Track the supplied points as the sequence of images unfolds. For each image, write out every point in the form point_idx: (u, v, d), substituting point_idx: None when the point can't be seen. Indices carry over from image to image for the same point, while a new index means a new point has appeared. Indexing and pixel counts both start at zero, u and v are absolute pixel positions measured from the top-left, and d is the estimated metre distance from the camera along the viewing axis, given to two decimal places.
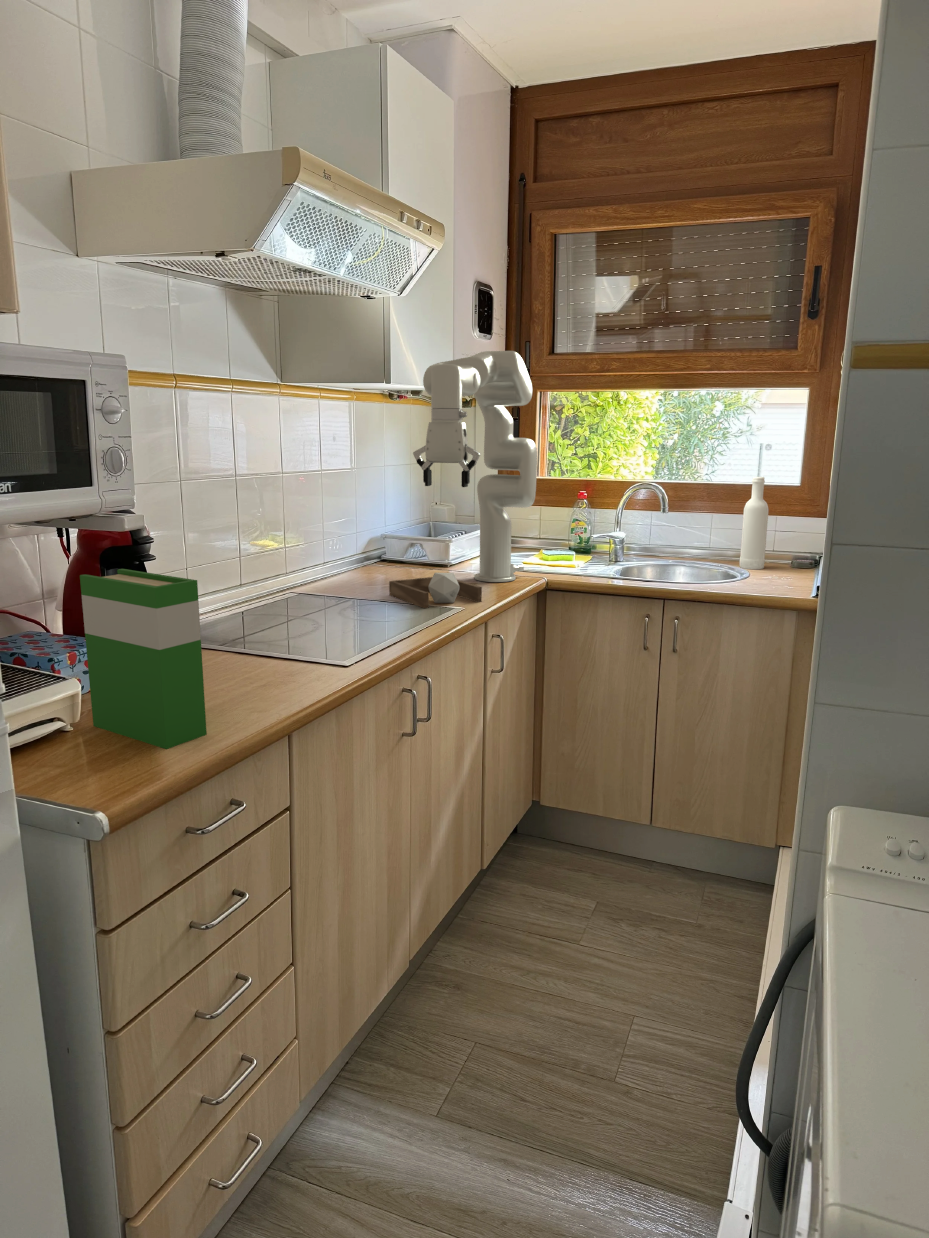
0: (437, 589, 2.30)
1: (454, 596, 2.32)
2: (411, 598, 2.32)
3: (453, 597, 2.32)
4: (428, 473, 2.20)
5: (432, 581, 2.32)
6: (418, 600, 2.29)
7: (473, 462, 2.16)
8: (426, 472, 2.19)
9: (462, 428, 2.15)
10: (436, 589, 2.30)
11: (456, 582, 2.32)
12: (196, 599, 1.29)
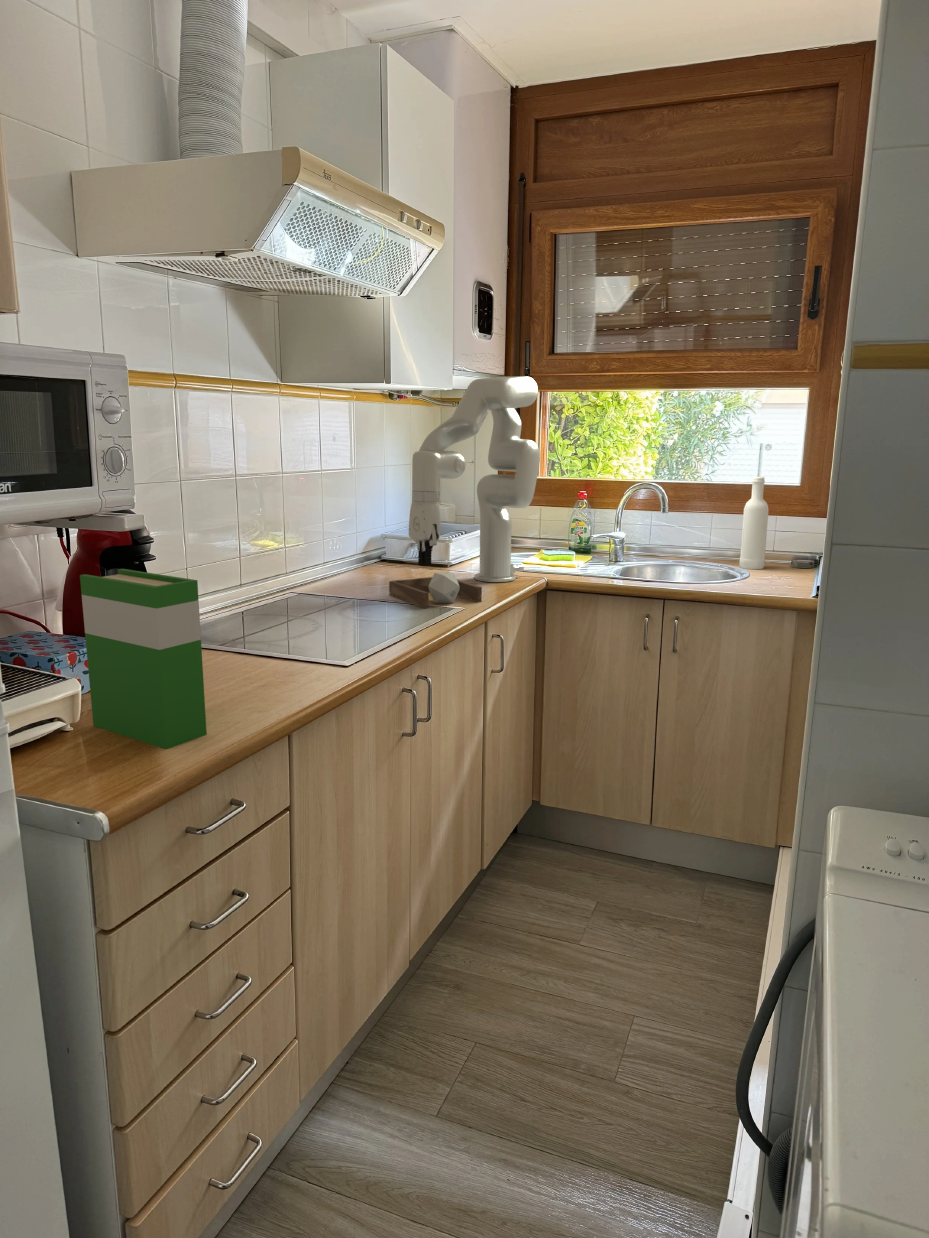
0: (436, 589, 2.30)
1: (454, 596, 2.32)
2: (411, 598, 2.32)
3: (453, 597, 2.32)
4: None
5: (432, 581, 2.32)
6: (418, 600, 2.29)
7: None
8: None
9: None
10: (436, 589, 2.30)
11: (456, 582, 2.32)
12: (196, 599, 1.29)
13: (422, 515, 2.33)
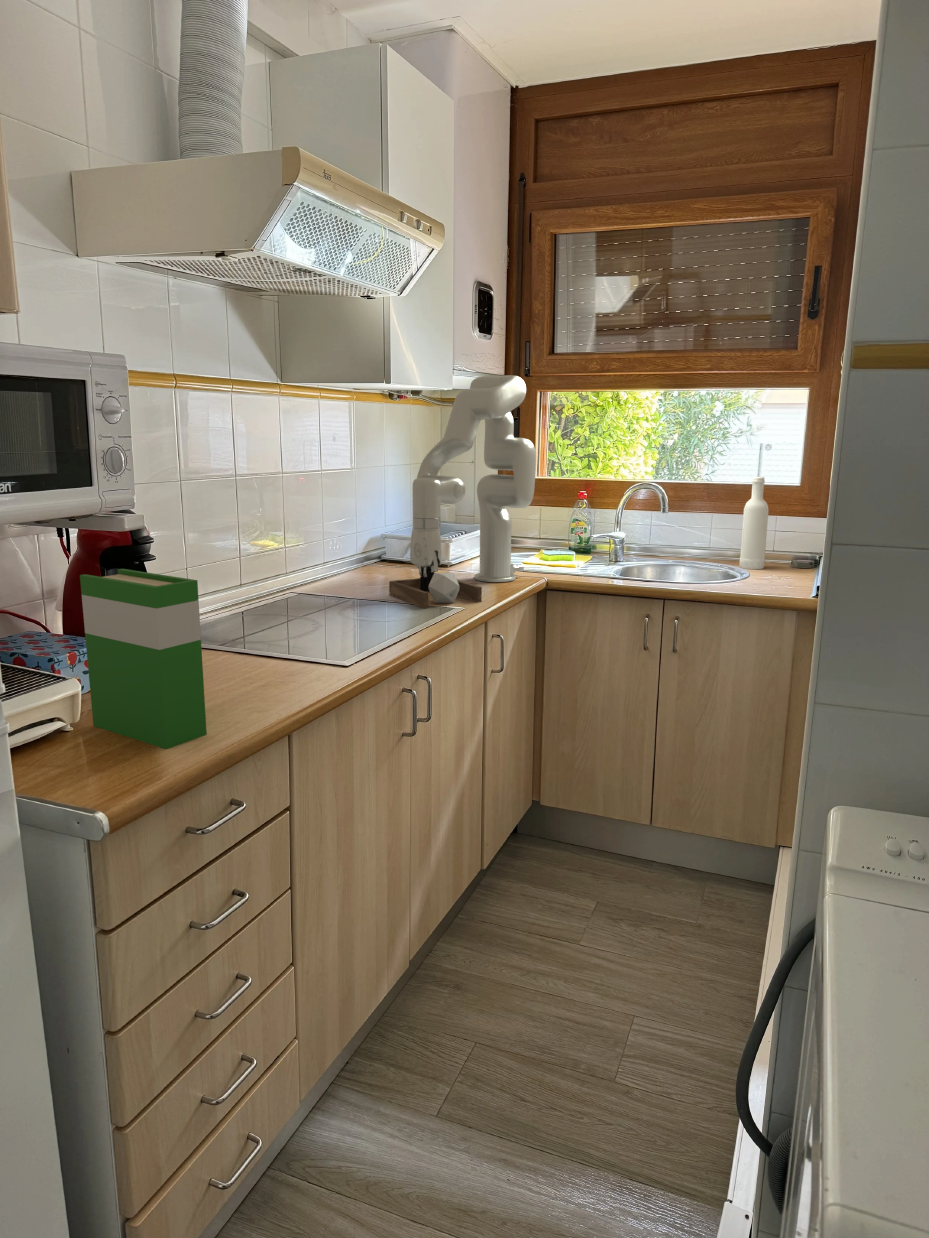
0: (436, 589, 2.30)
1: (454, 596, 2.32)
2: (411, 598, 2.32)
3: (453, 597, 2.32)
4: None
5: (432, 581, 2.32)
6: (418, 600, 2.29)
7: None
8: None
9: None
10: (436, 589, 2.30)
11: (456, 582, 2.32)
12: (196, 599, 1.29)
13: (423, 542, 2.35)
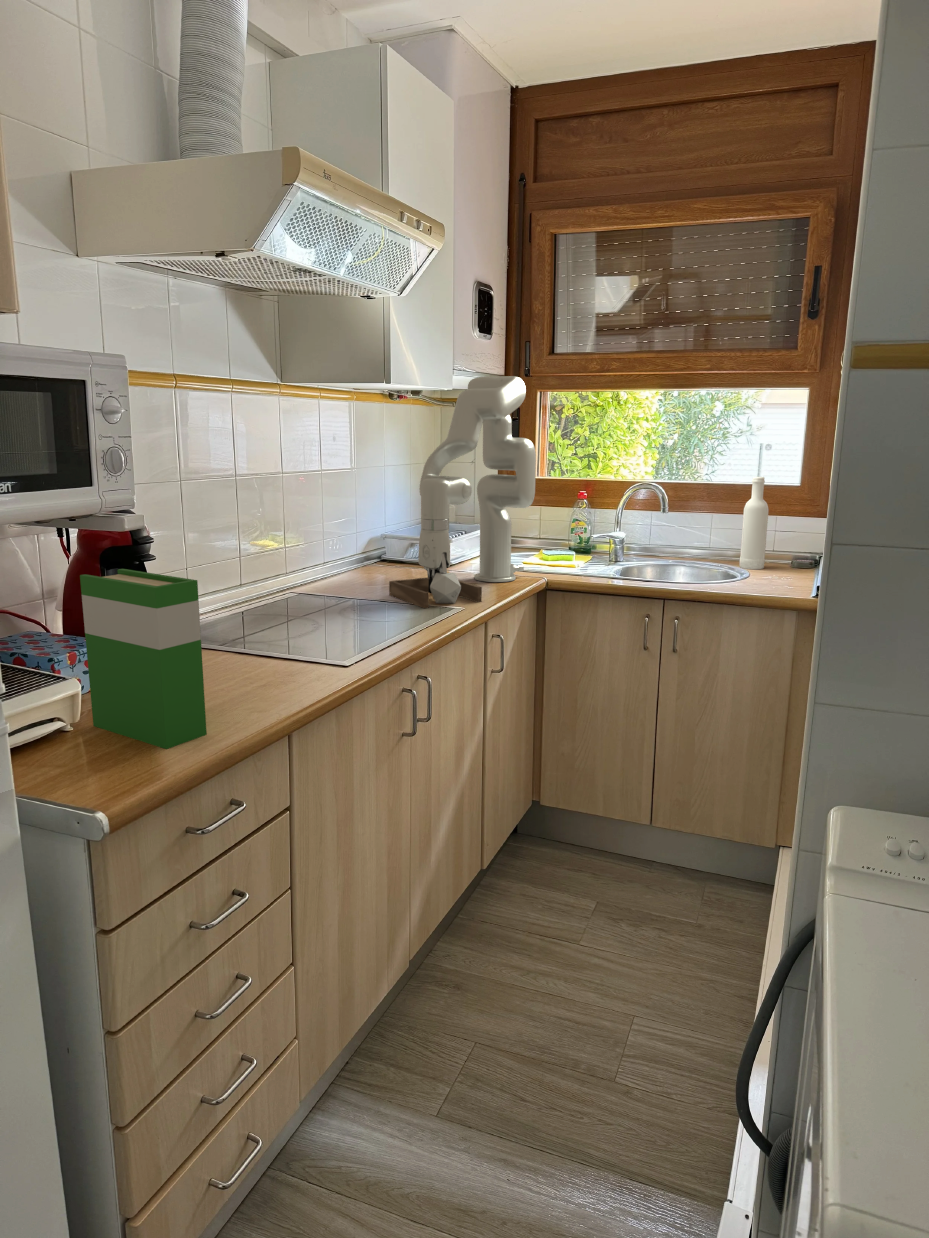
0: (438, 590, 2.29)
1: (455, 596, 2.31)
2: (411, 598, 2.32)
3: (454, 597, 2.31)
4: None
5: (433, 581, 2.31)
6: (418, 600, 2.29)
7: None
8: None
9: None
10: (437, 590, 2.29)
11: (457, 582, 2.31)
12: (196, 599, 1.29)
13: (431, 543, 2.31)
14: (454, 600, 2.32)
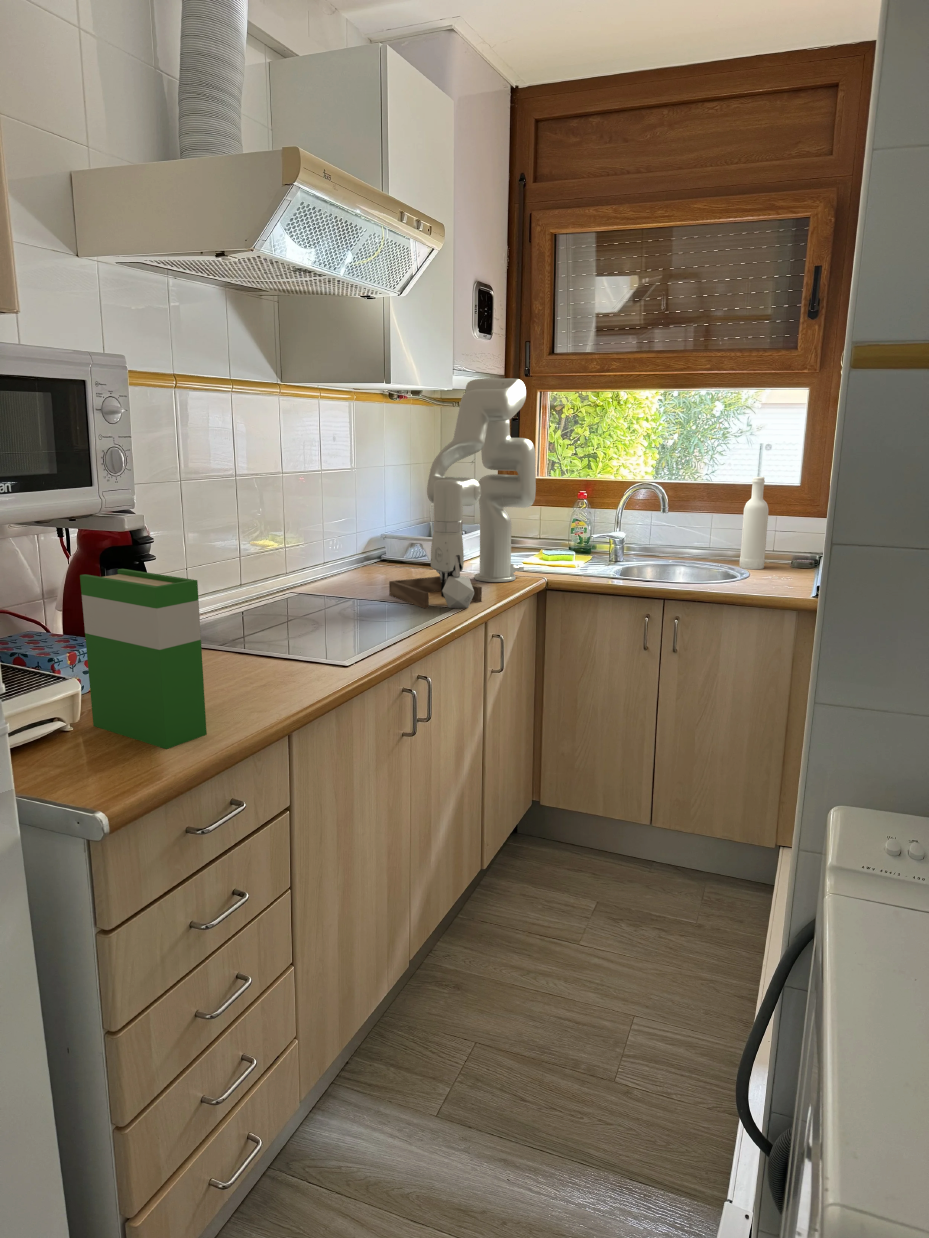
0: (450, 595, 2.24)
1: (468, 601, 2.26)
2: (411, 598, 2.32)
3: (467, 602, 2.26)
4: None
5: (446, 586, 2.25)
6: (418, 600, 2.29)
7: None
8: None
9: None
10: (449, 594, 2.24)
11: (471, 587, 2.25)
12: (196, 599, 1.29)
13: (445, 546, 2.25)
14: (467, 605, 2.26)
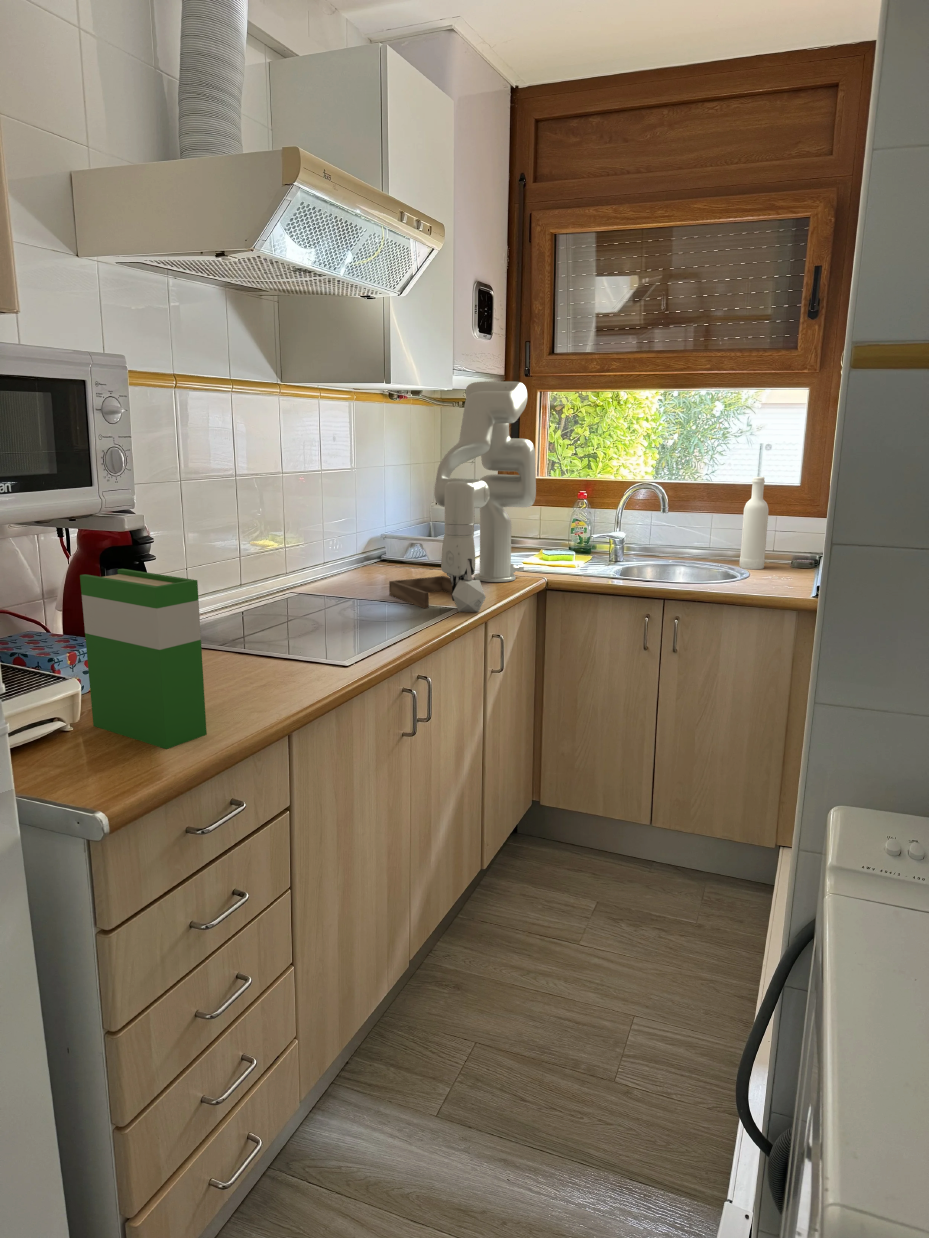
0: (460, 598, 2.19)
1: (479, 605, 2.21)
2: (411, 598, 2.32)
3: (478, 606, 2.21)
4: None
5: (456, 589, 2.21)
6: (418, 600, 2.29)
7: None
8: None
9: None
10: (459, 598, 2.19)
11: (481, 591, 2.20)
12: (196, 599, 1.29)
13: (456, 549, 2.21)
14: (477, 609, 2.21)
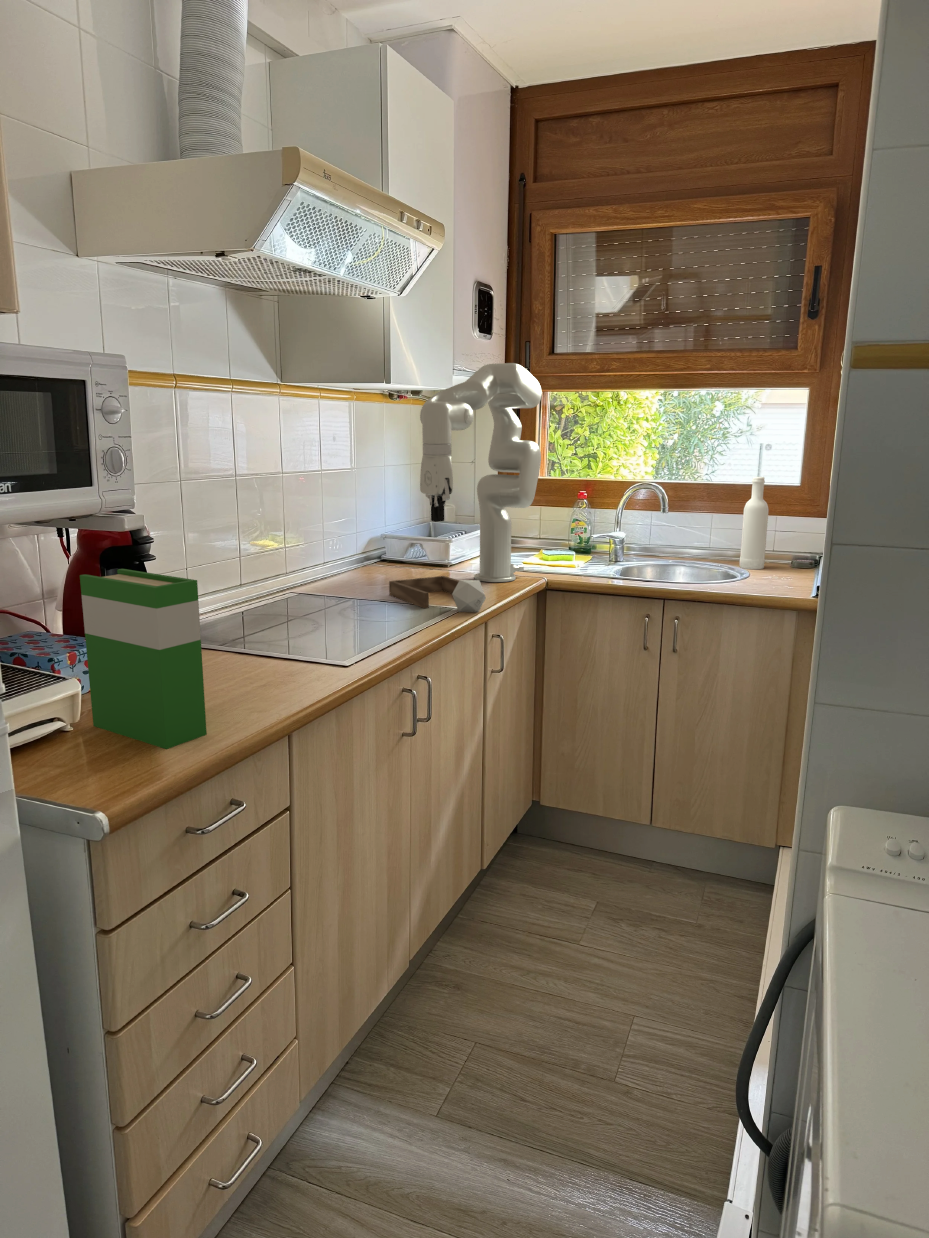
0: (460, 598, 2.19)
1: (479, 605, 2.21)
2: (411, 598, 2.32)
3: (478, 606, 2.21)
4: None
5: (456, 589, 2.21)
6: (418, 600, 2.29)
7: None
8: None
9: None
10: (459, 598, 2.20)
11: (481, 590, 2.20)
12: (196, 599, 1.29)
13: (434, 469, 2.26)
14: (477, 609, 2.21)
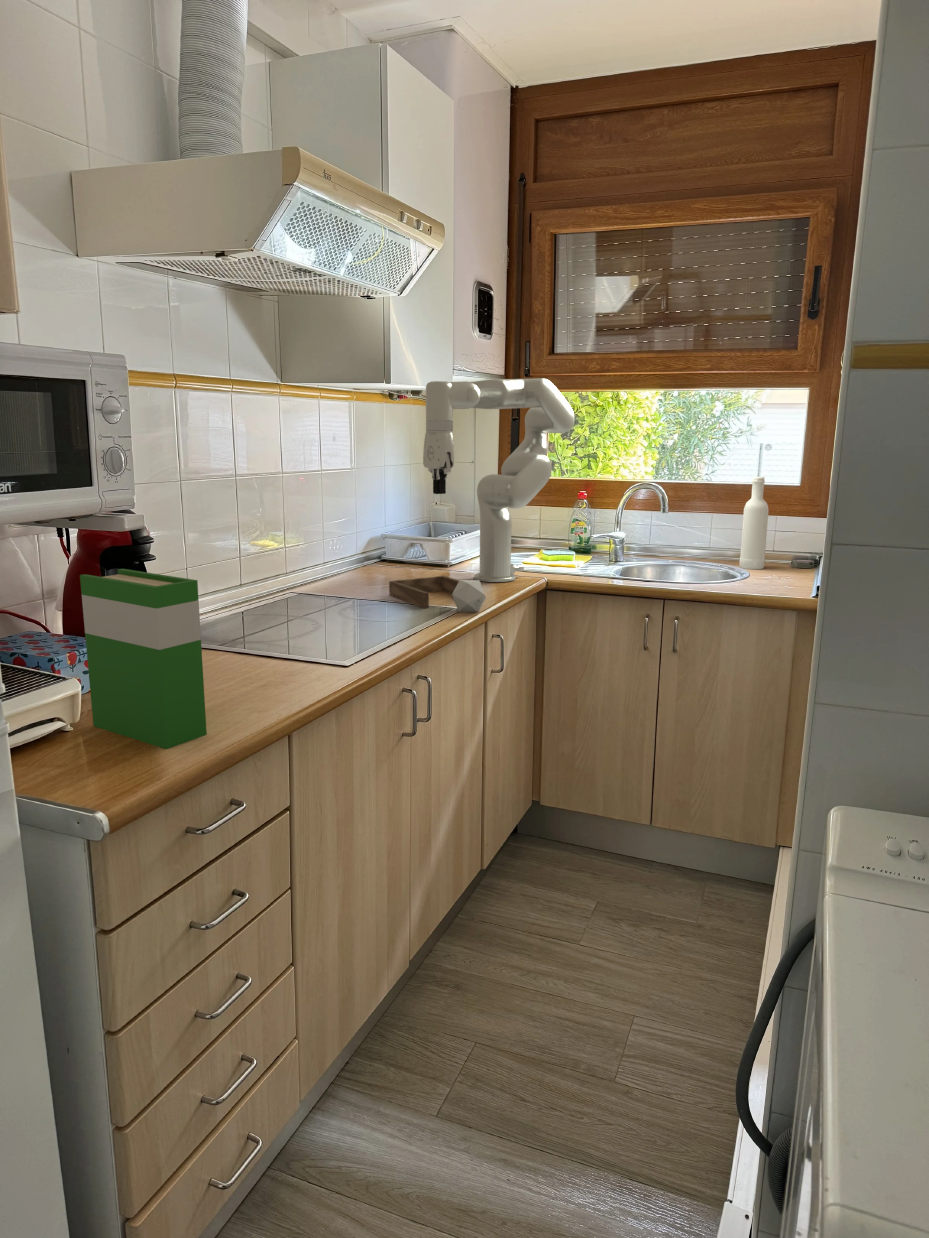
0: (460, 598, 2.19)
1: (479, 605, 2.21)
2: (411, 598, 2.32)
3: (478, 606, 2.21)
4: None
5: (456, 589, 2.21)
6: (418, 600, 2.29)
7: None
8: None
9: None
10: (459, 598, 2.20)
11: (481, 590, 2.20)
12: (196, 599, 1.29)
13: (436, 443, 2.41)
14: (477, 609, 2.21)
